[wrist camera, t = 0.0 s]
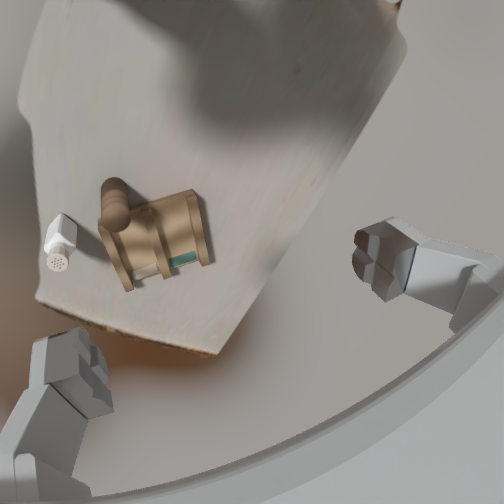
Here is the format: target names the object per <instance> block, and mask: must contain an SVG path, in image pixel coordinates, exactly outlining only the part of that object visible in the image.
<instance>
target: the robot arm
mask: <svg viewBox="0 0 504 504" xmlns="http://www.w3.org/2000/svg"><path fill="white" fill-rule="evenodd" d="M354 243H355V245H356V246H357V248H356V250H355V251H354V253H353V257H352V265H353V267H354V271H355V273H356V274H357V276H358V277H359V278H360V279H361V280H362V281H363V282H366V283H370V284H371V287H372V291H374V292H375V293H376V294H377V295H378V296H379V297H380V298H381V299H382V300H383V301H384V302H387V301H389V300H391V299H393V298H395V297H397V296H399V295H401V294H403V293H405V294H406V295H408V296H411V297H413V298H415V299H418V300H420V301H423V302H425V303H427V304H430V305H432V306H435V307H437V308H439V309H442V310H444V311H446V312H449V313H451V314H453V317H452V319H451V321H450V323H449V328H450V329H451V330H452V331H453V332H454V333H455V335H453V336H452V337H451V338H450V339H448V340H447V341H446V342H445V343H443V344H442V345H441V346H440V347H439V348H437V349H436V350H435V351H433V352H432V353H431V354H429V355H428V356H427V357H425V358H424V359H423V360H421V361H420V362H419V363H417V364H416V365H414V366H413V367H412V368H410V369H409V370H408V371H406V372H405V373H403V374H402V375H400V376H399V377H398V378H396V379H394V380H393V381H391V382H390V383H388V384H387V385H385V386H384V387H382V388H381V389H379V390H378V391H376V392H374V393H373V394H371V395H369V396H368V397H366V398H365V399H363V400H362V401H360V402H358V403H356V404H355V405H353V406H351V407H350V408H348V409H346V410H344V411H343V412H341V413H339V414H337V415H335V416H333V417H332V418H330V419H328V420H326V421H324V422H322V423H320V424H318V425H316V426H314V427H312V428H310V429H308V430H306V431H304V432H302V433H300V434H298V435H296V436H294V437H292V438H290V439H287V440H285V441H283V442H281V443H279V444H276V445H274V446H272V447H269V448H267V449H265V450H262V451H260V452H258V453H255V454H253V455H250V456H248V457H245V458H242V459H240V460H237V461H234V462H232V463H229V464H226V465H223V466H220V467H217V468H215V469H211V470H208V471H205V472H202V473H199V474H196V475H192V476H189V477H186V478H182V479H179V480H175V481H171V482H167V483H163V484H159V485H155V486H151V487H146V488H143V489H138V490H132V491H127V492H122V493H116V494H111V495H104V496H97V497H92V496H91V491H90V487H89V486H87V485H86V484H85V483H83V482H80V481H78V480H76V479H74V478H72V477H71V476H72V472H73V469H74V465H75V462H76V458H77V455H78V452H79V449H80V445H81V442H82V439H83V436H84V433H85V430H86V427H87V424H88V419H92V418H95V417H99V416H102V415H106V414H109V413H113V412H114V409H113V403H112V396H111V391H110V390H109V389H108V388H107V387H106V383H107V381H108V379H109V375H108V369H107V366H106V363H105V360H104V358H103V356H102V354H101V352H100V351H99V349H98V347H96V346H94V345H92V344H90V336H89V334H88V333H87V331H86V330H85V329H84V328H83V327H77V328H74V329H71V330H67V331H64V332H61V333H57V334H54V335H50V336H48V337H44V338H41V339H38V340H36V341H35V342H34V343H33V348H32V357H31V367H30V379H29V389H27V390H25V391H24V392H23V394H22V396H21V397H20V399H19V401H18V403H17V405H16V406H15V408H14V410H13V411H12V413H11V415H10V417H9V419H8V421H7V422H6V424H5V426H4V428H3V430H2V432H1V434H0V504H504V262H503V261H502V260H500V259H499V258H497V257H496V256H495V255H494V254H492V253H489V252H485V251H481V250H478V249H474V248H470V247H466V246H462V245H458V244H454V243H450V242H446V241H442V240H438V239H434V238H432V239H429V238H427V237H426V236H424V235H423V234H421V233H420V232H418V231H417V230H415V229H414V228H412V227H411V226H409V225H408V224H406V223H405V222H403V221H402V220H400V219H399V218H396V217H391V218H388V219H386V220H383V221H381V222H379V223H376V224H374V225H371V226H368V227H366V228H363V229H360V230H358V231H357V232H356V234H355V239H354Z"/></svg>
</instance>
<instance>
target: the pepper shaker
mask: <svg viewBox="0 0 504 504" xmlns="http://www.w3.org/2000/svg"><path fill="white" fill-rule="evenodd" d="M77 228H78V227H77V225H76V224H75V223H74V222H73V221H71V220H70V219H69V218H68V217H66V216H65V215H64V214H62V213H61V214H59V215H58V216H57V217H56V219H55V220H54V221H53V222H52V223H51V224H50V226H49V227H48V231H47V235H46V240H45V245H44V250H45V252H46V253H47V254H48V258H47V264H48V267H49V268H50V269H51V270H52V271H55V272H63V271H64V270H66V269H67V267H68V265H69V256H70V255H71V254H72V253H73V251H74V250H75V248H76V240H77Z"/></svg>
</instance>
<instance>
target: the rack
mask: <svg viewBox="0 0 504 504" xmlns="http://www.w3.org/2000/svg"><path fill="white" fill-rule="evenodd" d="M130 213H131V222H130V225H129V226H128V227H127V228H126V229H125V230H124V231H121V232H118V233H113V232H109V231H107V230H106V229H105V228H104V227H103V225H102V223H101V218H100V219H98V231H99V233H100V235H101V238H102V240H103V243H104V245H105V247H106V250H107V252H108V254H109V256H110V259H111V261H112V263H113V265H114V267H115V270H116V272H117V274H118V276H119V278H120V280H121V282H122V284H123V286H124V288H125V291H126V292H129V291H132V290H134V287H133V282H135V281H138V280H141V279H144V278H147V277H150V276H153V275H156V274H159V273H162V276H163V278H164V279H167V278H170V277H172V276H171V273H170V269H173V268H176V267H179V266H182V265H185V264H188V263H191V262H194V261H197V260H199V261H200V263H201V265H202V267H203V266H206V265H209V264H210V262H209V257H208V252H207V247H206V242H205V237H204V232H203V227H202V222H201V216H200V211H199V206H198V200H197V197H196V195H195V193H194V191H193V190H192V189H190V190H187V191H184V192H180V193H177V194H173V195H170V196H167V197H164V198H160V199H157V200H154V201H151V202H148V203H144V204H141V205H138V206H135V207H132V208H130Z"/></svg>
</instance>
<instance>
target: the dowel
mask: <svg viewBox="0 0 504 504" xmlns="http://www.w3.org/2000/svg"><path fill="white" fill-rule="evenodd" d="M130 222H131V213H130V207H129V201H128V195H127V189H126V184H125V183H124V181H123V180H121V179H120V178H116V177H113V178H109V179H107V180H106V181H105V182H104V183H103V184H102V187H101V223H102V225H103V227H104V228H105V229H106V230H107V231H109V232H113V233H118V232H121V231H124V230H125V229H126V228H127V227H128V226H129V225H130Z"/></svg>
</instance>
